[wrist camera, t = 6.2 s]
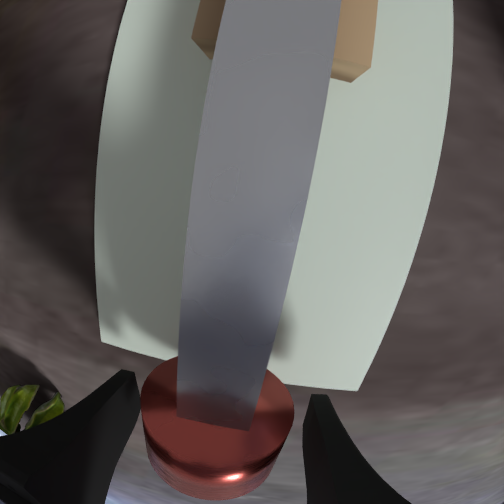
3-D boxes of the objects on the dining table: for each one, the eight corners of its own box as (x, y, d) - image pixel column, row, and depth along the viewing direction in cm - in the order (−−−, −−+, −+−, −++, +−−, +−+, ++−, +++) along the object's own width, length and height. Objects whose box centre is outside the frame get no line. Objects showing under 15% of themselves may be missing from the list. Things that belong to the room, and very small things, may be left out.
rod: (374, -66, 6) (413, -142, 1) (272, 422, 13) (267, 515, 8) (237, -88, 6) (215, -171, 1) (166, 401, 13) (132, 487, 8)
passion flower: (107, 408, 25) (84, 507, 19) (13, 363, 22) (-11, 462, 16) (106, 414, 16) (78, 553, 10) (-28, 344, 13) (-56, 483, 7)
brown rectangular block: (360, 14, 8) (378, -14, 6) (350, 83, 9) (370, 67, 7) (224, -9, 8) (212, -40, 6) (209, 59, 9) (191, 38, 7)
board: (432, -90, 5) (438, -97, 4) (354, 377, 15) (357, 390, 14) (196, -128, 5) (192, -138, 5) (109, 330, 15) (101, 341, 14)
